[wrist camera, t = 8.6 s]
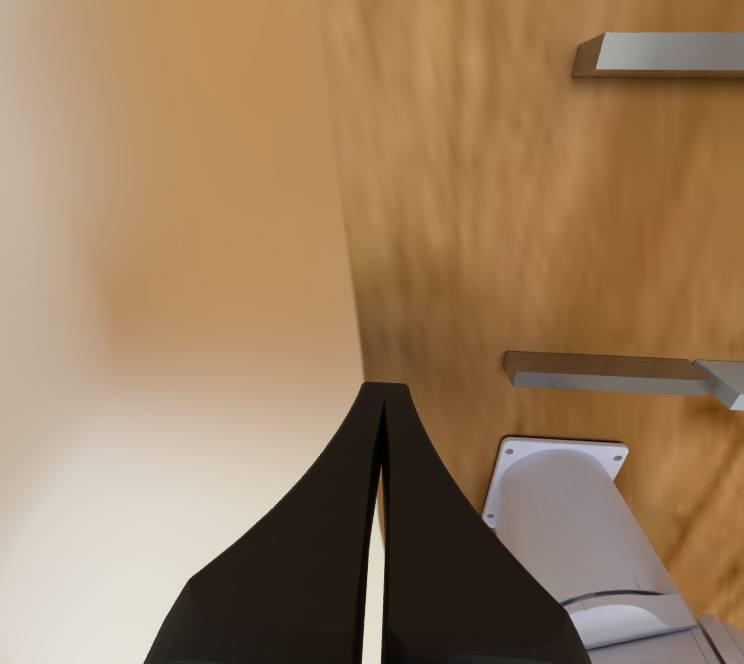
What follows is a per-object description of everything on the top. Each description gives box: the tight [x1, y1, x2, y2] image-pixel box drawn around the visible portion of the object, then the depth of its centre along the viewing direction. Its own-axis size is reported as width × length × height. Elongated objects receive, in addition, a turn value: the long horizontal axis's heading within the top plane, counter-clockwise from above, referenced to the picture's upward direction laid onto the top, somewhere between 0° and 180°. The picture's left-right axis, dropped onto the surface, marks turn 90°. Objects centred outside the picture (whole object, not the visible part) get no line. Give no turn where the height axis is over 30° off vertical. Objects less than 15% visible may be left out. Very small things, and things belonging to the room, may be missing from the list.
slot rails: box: [503, 33, 744, 396], centre depth 16 cm, size 15×10×2 cm, turn 179°
